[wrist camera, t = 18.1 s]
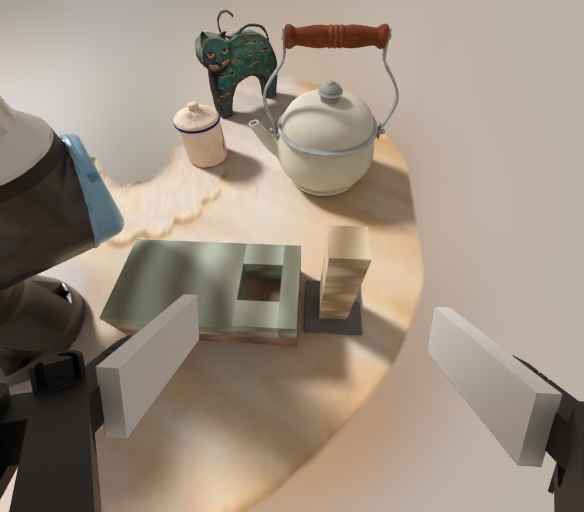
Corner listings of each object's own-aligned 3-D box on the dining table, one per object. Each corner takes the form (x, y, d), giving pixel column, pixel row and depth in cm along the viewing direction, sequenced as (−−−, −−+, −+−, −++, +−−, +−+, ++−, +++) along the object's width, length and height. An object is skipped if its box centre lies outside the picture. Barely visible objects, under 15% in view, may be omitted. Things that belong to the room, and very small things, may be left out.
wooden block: (318, 318, 39) (329, 257, 26) (318, 293, 42) (328, 225, 28) (346, 319, 39) (371, 259, 26) (345, 294, 41) (367, 227, 28)
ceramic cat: (220, 123, 68) (195, 23, 52) (207, 113, 71) (179, 14, 55) (282, 96, 75) (277, 0, 59) (268, 88, 78) (260, -7, 61)
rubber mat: (304, 331, 39) (304, 330, 38) (306, 282, 43) (306, 280, 43) (361, 335, 38) (361, 333, 38) (357, 284, 43) (357, 282, 42)
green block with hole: (129, 335, 39) (99, 318, 33) (157, 264, 46) (136, 239, 40) (296, 345, 38) (296, 329, 32) (300, 270, 44) (300, 245, 38)
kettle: (370, 147, 62) (407, 1, 41) (380, 206, 52) (435, 53, 31) (261, 145, 63) (243, 3, 42) (250, 203, 53) (219, 53, 32)
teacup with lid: (236, 157, 61) (224, 105, 51) (199, 175, 58) (179, 122, 48) (210, 133, 66) (195, 81, 56) (176, 148, 63) (153, 95, 53)
